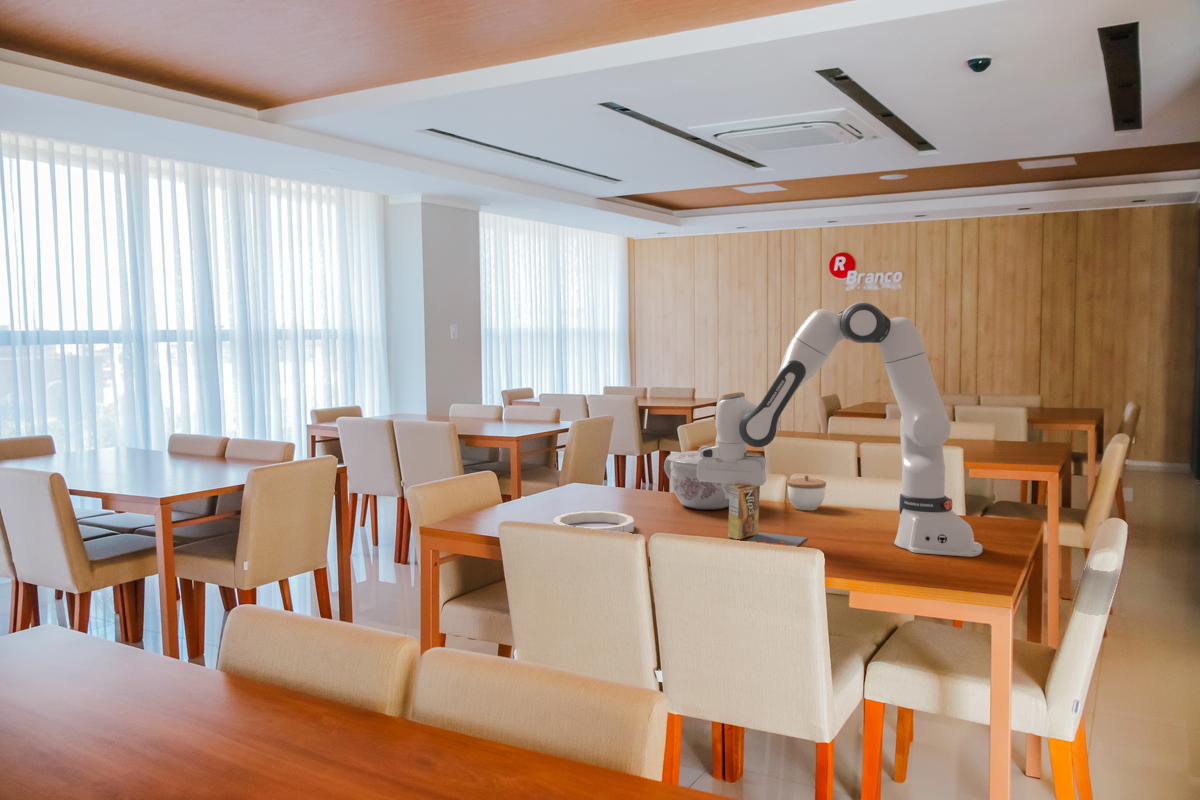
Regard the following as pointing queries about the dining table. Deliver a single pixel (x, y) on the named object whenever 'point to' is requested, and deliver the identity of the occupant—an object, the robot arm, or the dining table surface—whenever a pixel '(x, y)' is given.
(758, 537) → the mat
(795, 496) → the lidded bowl
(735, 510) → the candy box
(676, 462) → the chamber pot
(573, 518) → the flower saucer rim
